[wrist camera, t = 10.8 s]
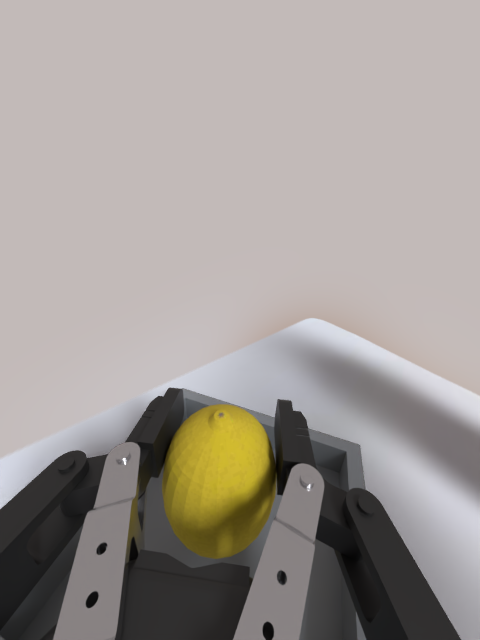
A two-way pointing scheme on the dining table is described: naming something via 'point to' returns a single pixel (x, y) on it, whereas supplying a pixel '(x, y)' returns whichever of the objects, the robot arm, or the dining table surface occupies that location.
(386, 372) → the dining table surface
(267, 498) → the lemon
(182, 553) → the tray
